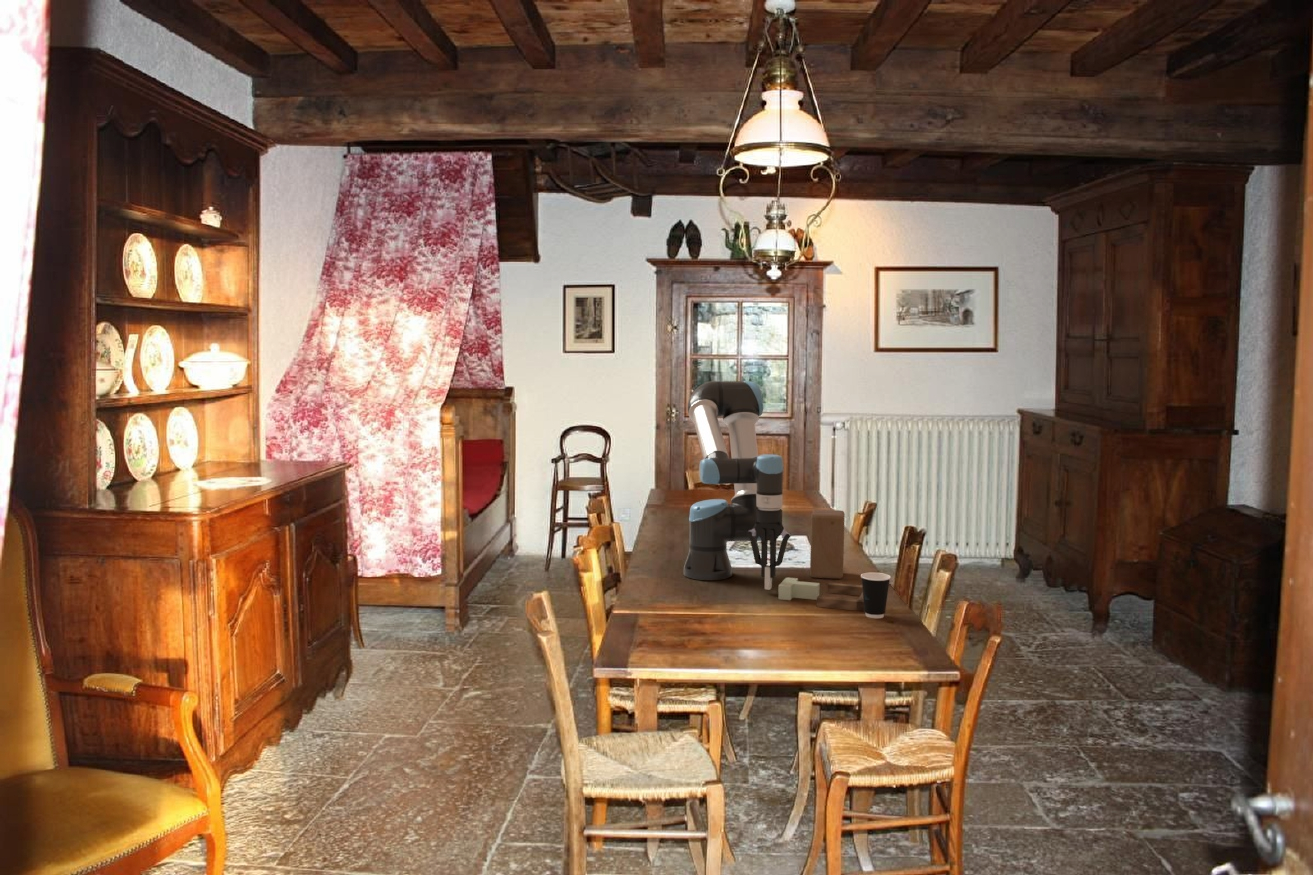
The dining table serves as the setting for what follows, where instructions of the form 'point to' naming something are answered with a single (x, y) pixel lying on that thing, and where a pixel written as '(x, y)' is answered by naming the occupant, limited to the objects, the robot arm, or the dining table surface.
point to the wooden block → (827, 544)
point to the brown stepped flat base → (842, 602)
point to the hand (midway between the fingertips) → (768, 588)
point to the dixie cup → (875, 593)
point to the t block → (798, 589)
